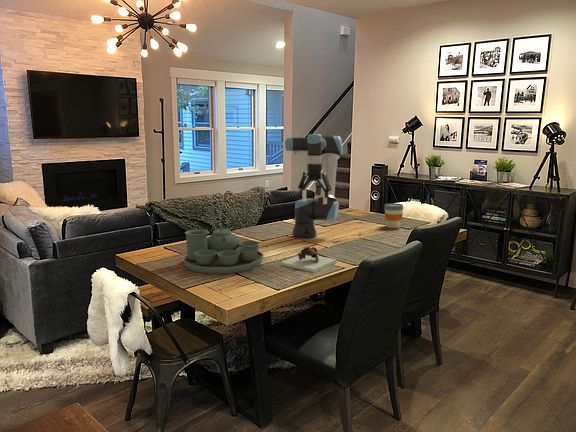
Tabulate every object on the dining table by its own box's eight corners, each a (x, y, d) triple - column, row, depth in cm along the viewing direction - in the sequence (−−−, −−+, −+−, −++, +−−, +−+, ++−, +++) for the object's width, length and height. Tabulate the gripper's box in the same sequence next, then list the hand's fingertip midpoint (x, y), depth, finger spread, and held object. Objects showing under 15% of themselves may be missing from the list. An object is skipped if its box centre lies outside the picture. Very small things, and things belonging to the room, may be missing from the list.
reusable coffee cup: (405, 225, 316) (406, 204, 313) (399, 229, 305) (399, 207, 303) (387, 224, 322) (388, 202, 320) (380, 227, 312) (381, 205, 309)
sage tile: (281, 265, 230) (281, 262, 229) (304, 256, 245) (304, 253, 245) (314, 272, 217) (314, 269, 217) (336, 262, 233) (336, 259, 233)
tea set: (207, 280, 208) (206, 245, 205) (172, 260, 240) (170, 229, 237) (279, 264, 231) (278, 232, 228) (238, 248, 263) (237, 220, 260)
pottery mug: (316, 266, 224) (307, 251, 222) (301, 271, 229) (292, 257, 228) (325, 253, 233) (316, 240, 232) (310, 259, 239) (302, 246, 237)
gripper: (291, 163, 251) (292, 201, 255) (330, 164, 236) (330, 205, 240) (299, 162, 257) (300, 199, 261) (338, 163, 242) (337, 204, 246)
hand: (314, 202), depth 250 cm, fingers open, 13 cm apart
